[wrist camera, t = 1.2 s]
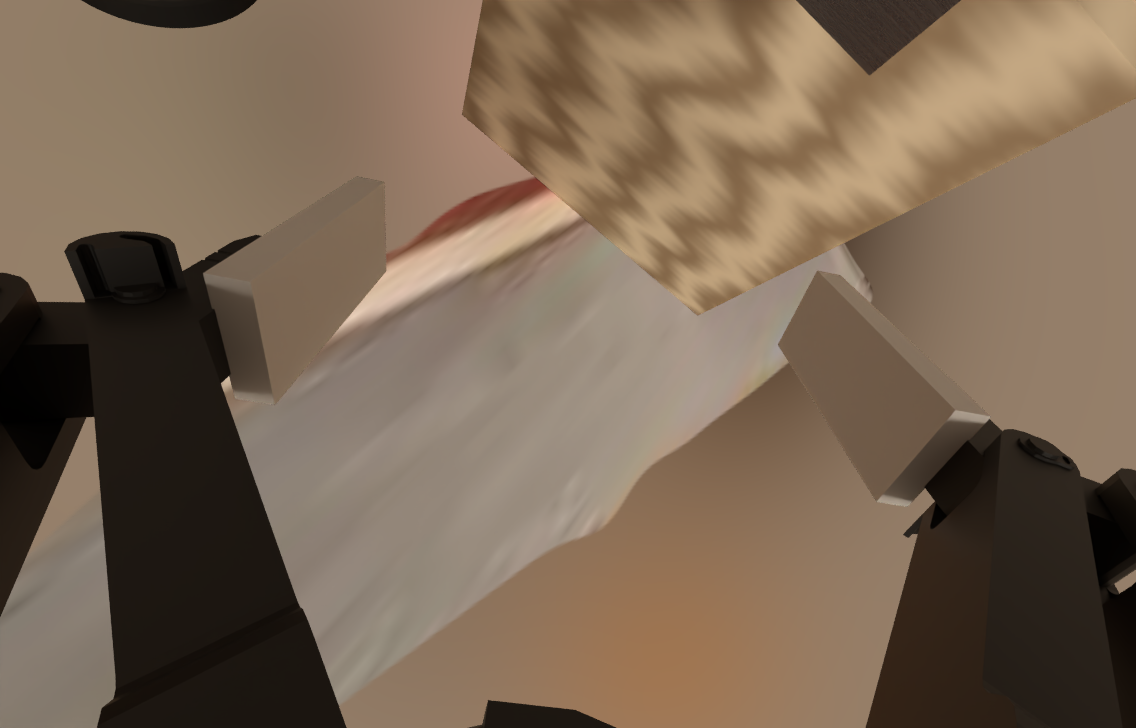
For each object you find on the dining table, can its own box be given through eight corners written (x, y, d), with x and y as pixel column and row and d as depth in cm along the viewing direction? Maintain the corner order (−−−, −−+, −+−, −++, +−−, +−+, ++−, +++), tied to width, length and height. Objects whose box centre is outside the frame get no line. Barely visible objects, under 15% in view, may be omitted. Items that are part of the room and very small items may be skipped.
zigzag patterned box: (462, 114, 42) (587, -572, 14) (582, 0, 49) (824, -608, 21) (697, 315, 46) (1152, 89, 18) (777, 183, 53) (1193, -125, 25)
